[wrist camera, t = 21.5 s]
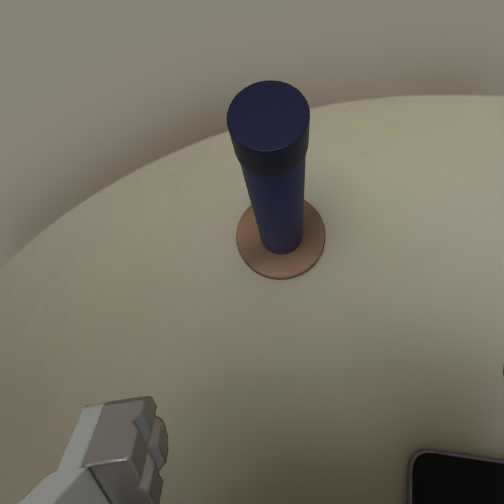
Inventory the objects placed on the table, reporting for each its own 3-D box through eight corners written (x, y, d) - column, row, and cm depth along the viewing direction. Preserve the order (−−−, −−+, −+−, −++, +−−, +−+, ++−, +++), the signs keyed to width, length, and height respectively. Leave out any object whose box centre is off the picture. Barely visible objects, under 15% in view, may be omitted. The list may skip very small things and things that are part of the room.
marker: (250, 237, 29) (209, 121, 15) (279, 205, 29) (263, 66, 16) (284, 265, 28) (272, 167, 15) (313, 231, 28) (327, 107, 15)
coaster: (219, 242, 30) (218, 240, 29) (275, 181, 30) (275, 177, 30) (285, 297, 28) (285, 296, 27) (343, 231, 29) (343, 228, 28)
